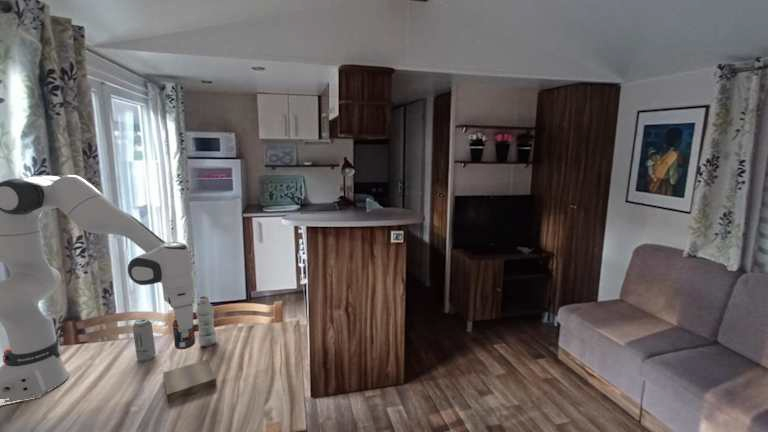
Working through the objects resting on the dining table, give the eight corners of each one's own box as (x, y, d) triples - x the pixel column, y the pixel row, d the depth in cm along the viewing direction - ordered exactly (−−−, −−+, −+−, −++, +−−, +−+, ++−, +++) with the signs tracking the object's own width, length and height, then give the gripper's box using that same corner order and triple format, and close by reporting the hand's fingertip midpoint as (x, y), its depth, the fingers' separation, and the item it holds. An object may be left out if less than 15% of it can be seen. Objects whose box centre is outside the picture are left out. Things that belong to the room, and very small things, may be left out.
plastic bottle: (200, 341, 153) (195, 295, 149) (218, 339, 155) (213, 293, 151) (197, 349, 147) (192, 302, 143) (216, 347, 149) (211, 299, 145)
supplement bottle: (186, 351, 120) (183, 318, 118) (170, 349, 121) (166, 316, 119) (199, 341, 125) (196, 310, 123) (184, 340, 127) (180, 309, 125)
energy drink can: (133, 361, 139) (127, 324, 136) (146, 352, 145) (141, 316, 142) (147, 363, 138) (142, 325, 135) (159, 354, 144) (155, 318, 141)
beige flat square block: (168, 403, 116) (167, 394, 116) (163, 380, 127) (162, 372, 127) (216, 386, 124) (215, 378, 123) (208, 366, 135) (207, 359, 135)
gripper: (164, 284, 126) (169, 322, 129) (171, 305, 110) (176, 348, 112) (185, 280, 130) (189, 317, 132) (195, 299, 113) (199, 341, 116)
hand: (183, 331), depth 122 cm, fingers closed on supplement bottle, 6 cm apart
